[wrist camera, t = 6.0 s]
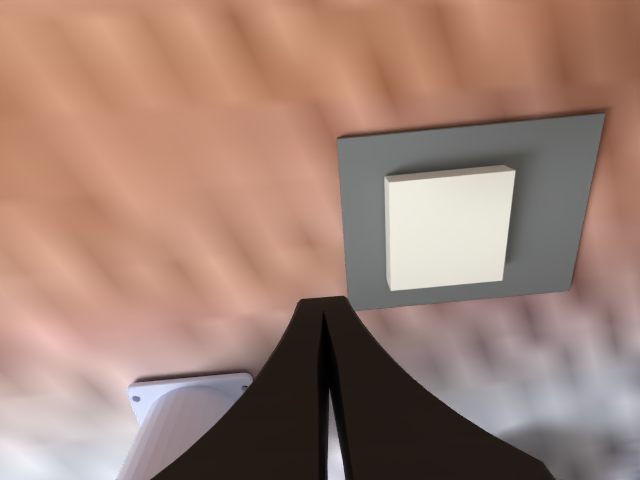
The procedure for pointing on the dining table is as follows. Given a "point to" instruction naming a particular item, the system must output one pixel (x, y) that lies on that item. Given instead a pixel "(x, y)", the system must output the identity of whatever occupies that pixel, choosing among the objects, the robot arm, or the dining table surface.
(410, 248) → the tile
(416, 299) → the mat
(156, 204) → the dining table surface
